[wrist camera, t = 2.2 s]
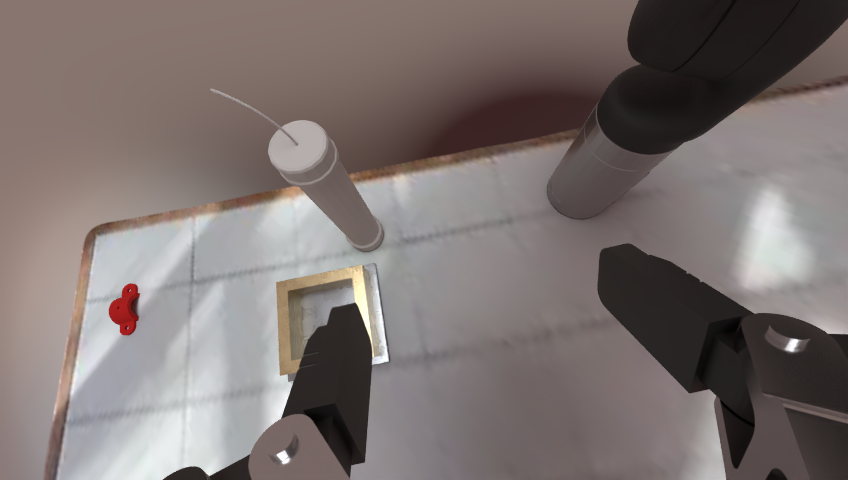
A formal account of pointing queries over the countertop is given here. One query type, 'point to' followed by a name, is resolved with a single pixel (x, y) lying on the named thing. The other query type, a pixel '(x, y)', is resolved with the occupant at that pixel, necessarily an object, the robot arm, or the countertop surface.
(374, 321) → the socket
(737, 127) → the countertop surface
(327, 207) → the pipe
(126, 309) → the pipe clamp
